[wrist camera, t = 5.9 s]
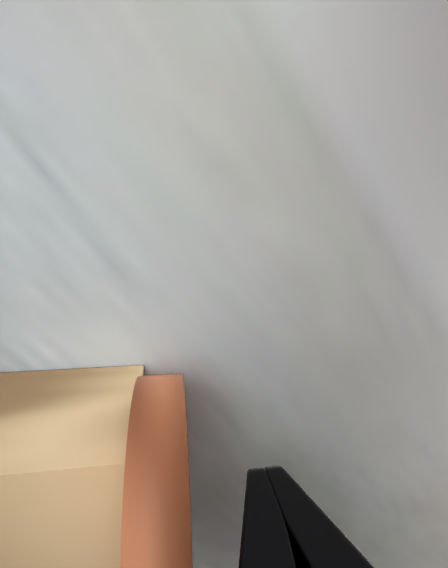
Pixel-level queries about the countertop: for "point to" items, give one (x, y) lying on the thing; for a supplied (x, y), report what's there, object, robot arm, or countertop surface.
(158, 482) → the lynch pin
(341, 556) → the robot arm
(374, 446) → the countertop surface
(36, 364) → the countertop surface
